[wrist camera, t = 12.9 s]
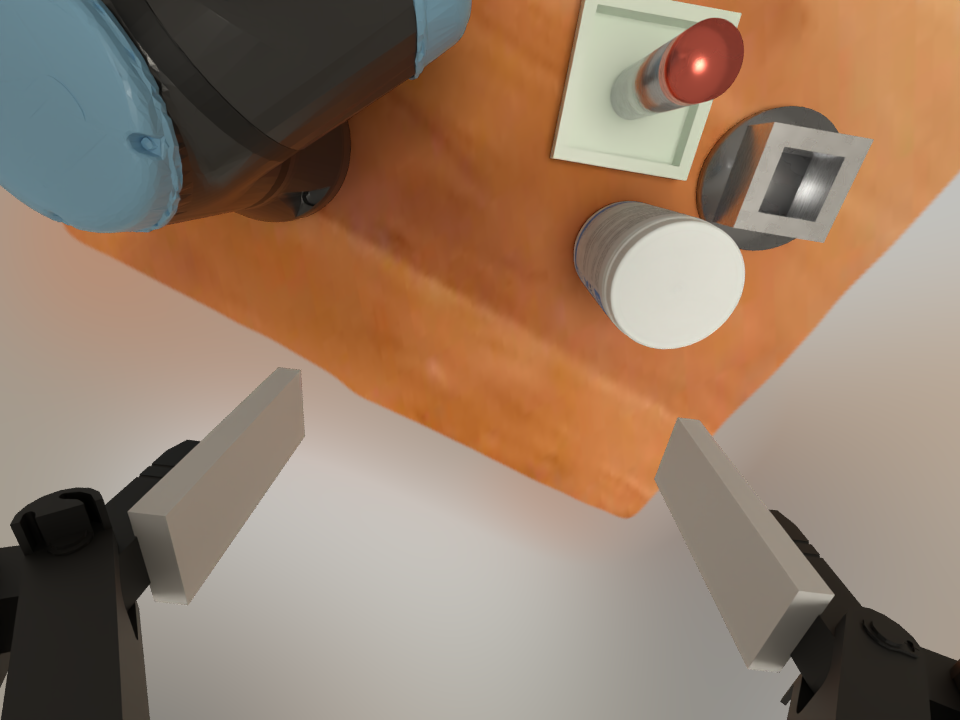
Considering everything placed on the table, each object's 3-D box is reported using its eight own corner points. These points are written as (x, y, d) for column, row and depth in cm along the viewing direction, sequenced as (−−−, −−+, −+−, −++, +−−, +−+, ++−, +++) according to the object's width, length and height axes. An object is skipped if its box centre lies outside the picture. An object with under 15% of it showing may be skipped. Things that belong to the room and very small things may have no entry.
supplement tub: (558, 280, 45) (584, 331, 31) (593, 186, 41) (640, 199, 28) (644, 306, 46) (705, 367, 32) (687, 216, 42) (776, 243, 28)
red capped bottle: (605, 115, 38) (660, 96, 25) (617, 61, 36) (685, 11, 23) (649, 123, 38) (727, 107, 25) (664, 69, 36) (755, 24, 24)
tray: (549, 158, 40) (553, 157, 38) (582, -4, 35) (588, -15, 33) (675, 179, 40) (686, 180, 38) (726, 22, 35) (741, 13, 33)
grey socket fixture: (677, 237, 42) (702, 247, 37) (725, 97, 37) (760, 87, 32) (795, 256, 43) (834, 269, 38) (858, 120, 38) (912, 114, 33)
